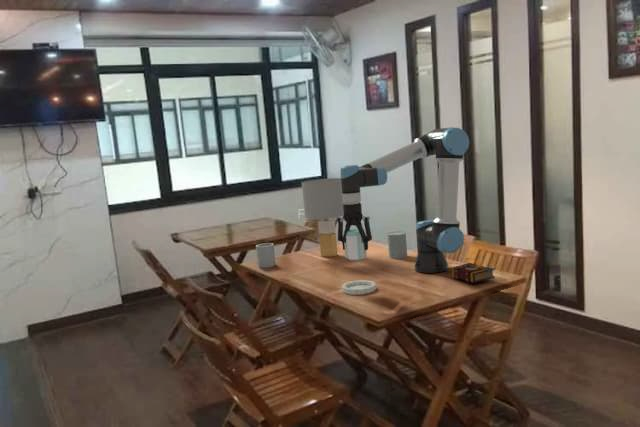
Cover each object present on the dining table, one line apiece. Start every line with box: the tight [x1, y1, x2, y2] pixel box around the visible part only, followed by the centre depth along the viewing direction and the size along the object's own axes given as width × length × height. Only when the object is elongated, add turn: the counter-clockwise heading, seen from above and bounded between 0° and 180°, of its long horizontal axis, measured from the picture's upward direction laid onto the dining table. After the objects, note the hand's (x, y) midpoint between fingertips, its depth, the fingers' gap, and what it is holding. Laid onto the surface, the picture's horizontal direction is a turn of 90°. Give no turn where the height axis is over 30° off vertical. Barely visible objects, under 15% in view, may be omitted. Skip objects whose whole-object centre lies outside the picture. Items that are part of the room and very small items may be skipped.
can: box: [346, 228, 364, 261], centre depth 231 cm, size 7×7×12 cm
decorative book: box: [450, 262, 495, 284], centre depth 237 cm, size 11×16×5 cm
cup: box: [255, 242, 276, 269], centre depth 290 cm, size 9×9×12 cm
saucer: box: [341, 279, 377, 296], centre depth 233 cm, size 14×14×2 cm
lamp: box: [301, 177, 344, 258], centre depth 300 cm, size 23×23×42 cm
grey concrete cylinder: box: [387, 231, 408, 260], centre depth 288 cm, size 10×10×12 cm
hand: (356, 257), depth 232 cm, fingers closed on can, 7 cm apart
